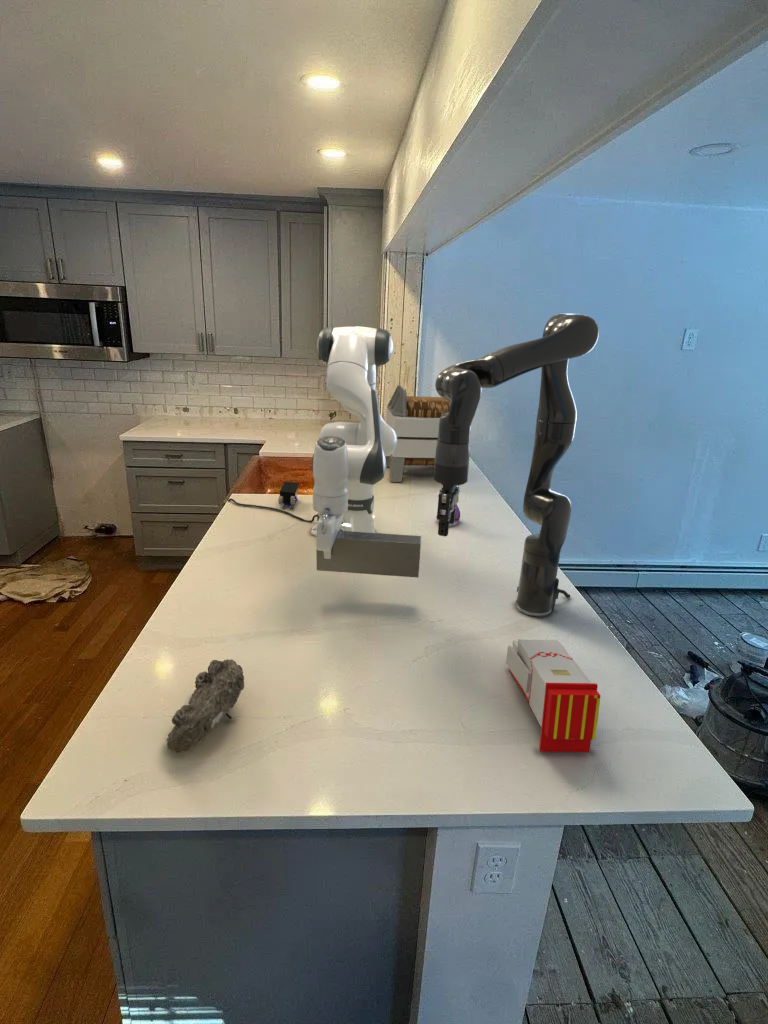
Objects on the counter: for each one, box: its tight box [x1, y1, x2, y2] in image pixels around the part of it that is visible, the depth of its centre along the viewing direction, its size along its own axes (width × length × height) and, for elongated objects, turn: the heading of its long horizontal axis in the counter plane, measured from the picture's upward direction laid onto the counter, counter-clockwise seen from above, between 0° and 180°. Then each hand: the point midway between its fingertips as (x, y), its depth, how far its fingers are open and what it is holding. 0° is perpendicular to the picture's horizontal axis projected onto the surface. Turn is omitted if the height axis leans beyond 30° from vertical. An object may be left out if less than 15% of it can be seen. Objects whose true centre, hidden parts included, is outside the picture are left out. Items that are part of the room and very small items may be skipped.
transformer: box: [385, 384, 451, 483], centre depth 268 cm, size 34×33×41 cm
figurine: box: [437, 505, 461, 528], centre depth 209 cm, size 9×10×15 cm
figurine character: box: [278, 481, 300, 510], centre depth 223 cm, size 7×8×15 cm
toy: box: [505, 638, 602, 753], centre depth 114 cm, size 12×13×30 cm
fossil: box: [166, 658, 245, 754], centre depth 106 cm, size 22×10×15 cm
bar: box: [316, 531, 422, 578], centre depth 147 cm, size 26×5×10 cm, turn 86°
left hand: (329, 552), depth 148 cm, fingers closed on bar, 5 cm apart
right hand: (446, 528), depth 131 cm, fingers open, 8 cm apart
